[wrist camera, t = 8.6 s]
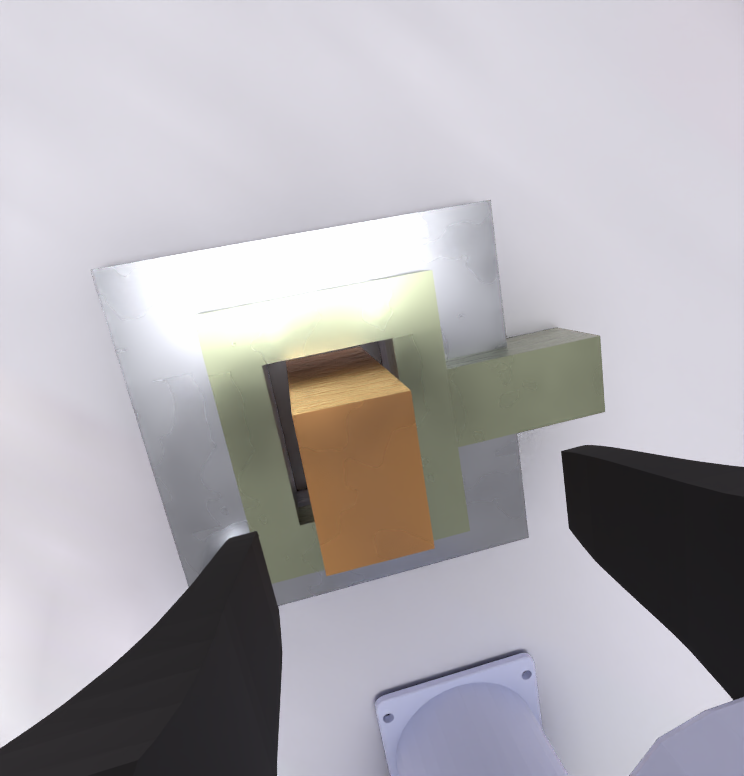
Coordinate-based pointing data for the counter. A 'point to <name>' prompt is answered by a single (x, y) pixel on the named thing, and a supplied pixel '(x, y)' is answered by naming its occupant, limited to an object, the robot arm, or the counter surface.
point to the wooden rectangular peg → (359, 459)
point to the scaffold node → (327, 333)
